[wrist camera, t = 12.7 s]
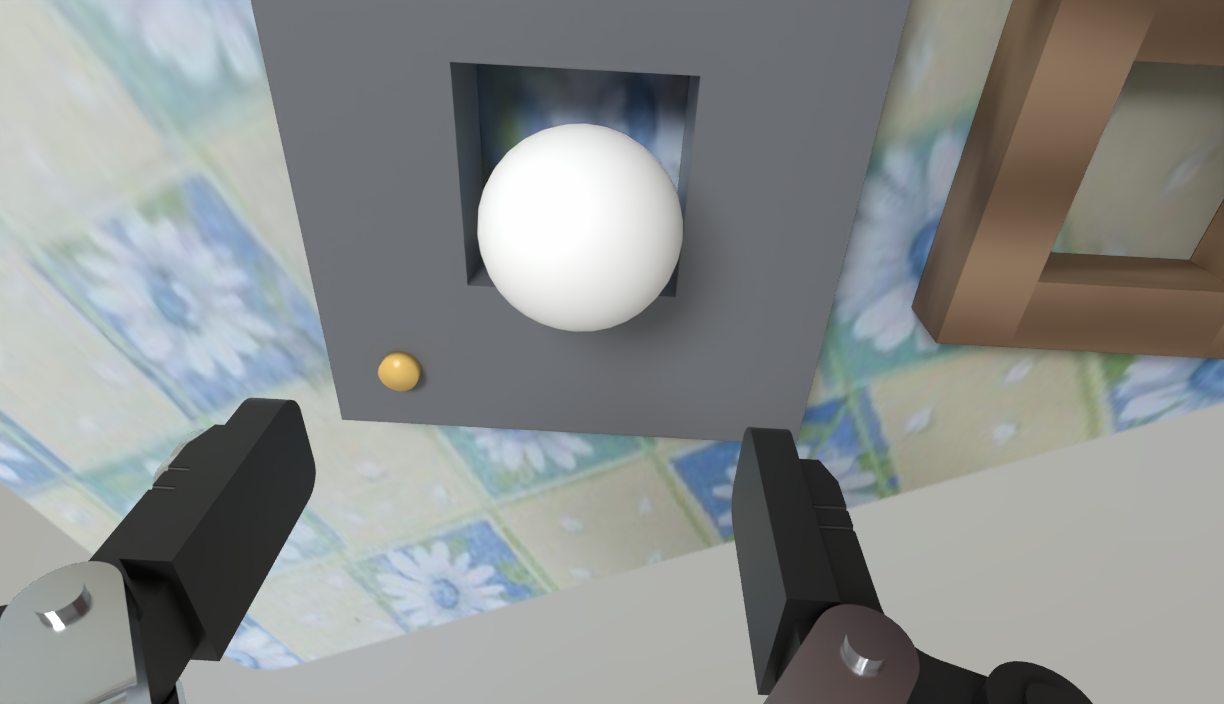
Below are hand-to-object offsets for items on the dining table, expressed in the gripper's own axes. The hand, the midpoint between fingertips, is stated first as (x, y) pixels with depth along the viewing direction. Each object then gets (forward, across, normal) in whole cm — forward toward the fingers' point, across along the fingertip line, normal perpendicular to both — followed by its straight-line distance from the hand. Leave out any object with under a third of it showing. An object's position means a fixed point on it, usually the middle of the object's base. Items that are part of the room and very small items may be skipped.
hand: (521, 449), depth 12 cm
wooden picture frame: (+18, -22, -1) cm, 28 cm away
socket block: (+18, 0, 0) cm, 18 cm away
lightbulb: (+18, 0, 0) cm, 18 cm away
